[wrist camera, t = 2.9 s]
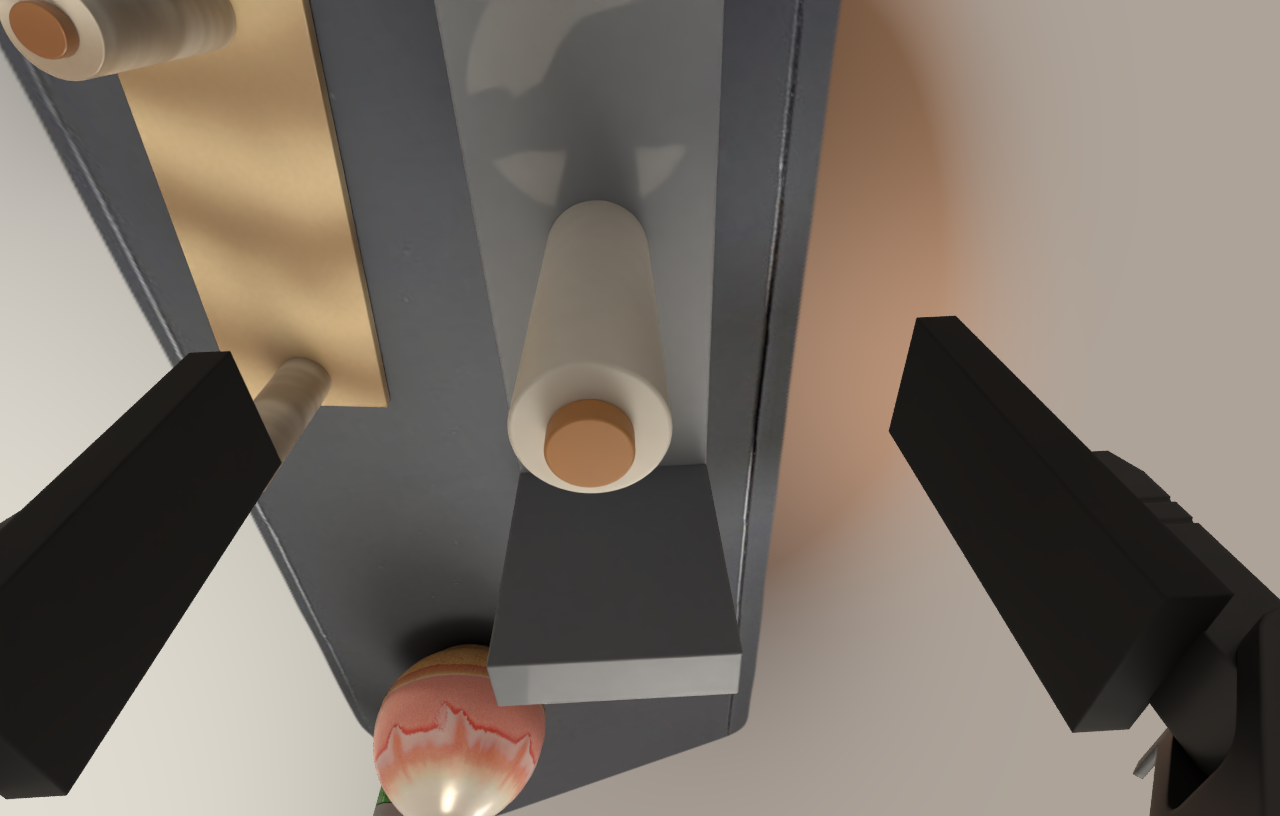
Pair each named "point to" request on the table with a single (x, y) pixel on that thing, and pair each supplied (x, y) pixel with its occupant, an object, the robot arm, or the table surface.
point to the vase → (454, 738)
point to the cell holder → (238, 181)
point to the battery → (385, 806)
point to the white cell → (592, 358)
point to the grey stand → (683, 284)
